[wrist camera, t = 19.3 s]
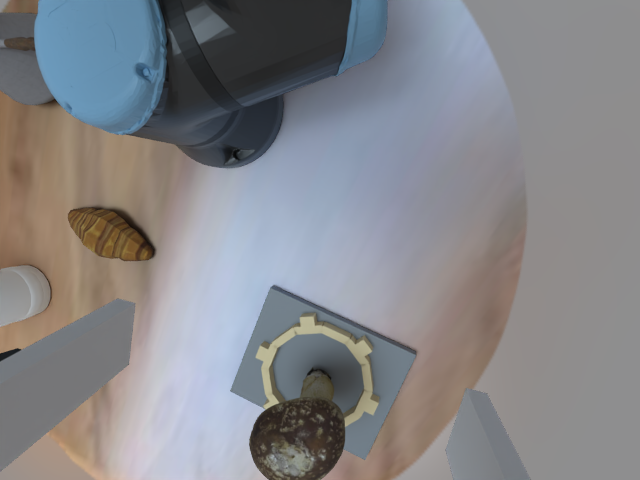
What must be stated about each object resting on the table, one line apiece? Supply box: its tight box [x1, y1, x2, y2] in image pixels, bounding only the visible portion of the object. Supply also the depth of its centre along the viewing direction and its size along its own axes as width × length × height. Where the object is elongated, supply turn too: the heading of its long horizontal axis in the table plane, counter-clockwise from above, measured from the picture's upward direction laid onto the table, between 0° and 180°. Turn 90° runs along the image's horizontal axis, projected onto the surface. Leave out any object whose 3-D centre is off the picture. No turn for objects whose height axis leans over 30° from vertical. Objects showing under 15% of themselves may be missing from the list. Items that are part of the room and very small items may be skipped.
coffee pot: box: [0, 13, 55, 105], centre depth 45 cm, size 21×12×15 cm, turn 77°
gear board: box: [230, 286, 416, 460], centre depth 49 cm, size 20×16×3 cm
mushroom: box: [249, 367, 345, 480], centre depth 42 cm, size 9×9×15 cm
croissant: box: [68, 208, 154, 261], centre depth 52 cm, size 14×7×5 cm, turn 65°
